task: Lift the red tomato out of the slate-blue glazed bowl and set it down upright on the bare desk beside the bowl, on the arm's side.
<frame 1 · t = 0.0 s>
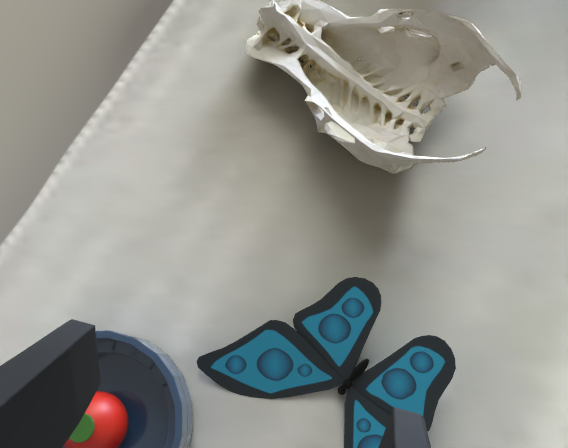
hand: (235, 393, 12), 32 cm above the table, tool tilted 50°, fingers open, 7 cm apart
bowl: (109, 422, 43), on the table
tomato: (107, 422, 42), resting on bowl
decorative butterfly: (342, 382, 43), on the table
anatomical model: (363, 95, 51), on the table
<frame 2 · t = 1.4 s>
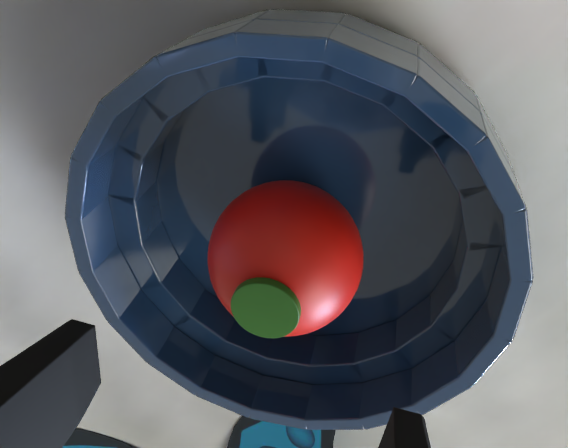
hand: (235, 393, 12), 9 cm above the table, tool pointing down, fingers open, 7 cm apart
bowl: (303, 212, 19), on the table
tomato: (300, 218, 19), resting on bowl
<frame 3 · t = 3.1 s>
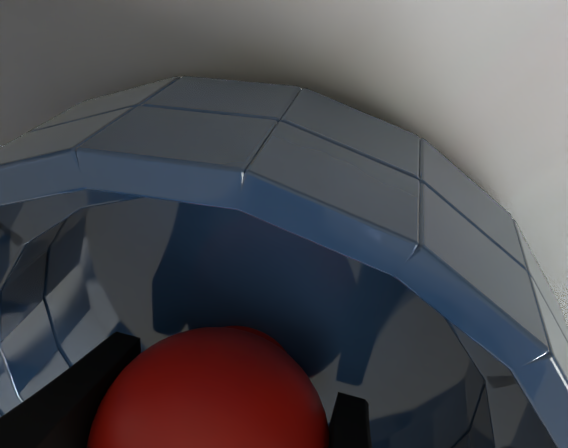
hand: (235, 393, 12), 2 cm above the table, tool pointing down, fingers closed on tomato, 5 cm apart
bowl: (253, 347, 13), on the table
tomato: (246, 361, 13), point 1 cm above the table, touching bowl, gripper
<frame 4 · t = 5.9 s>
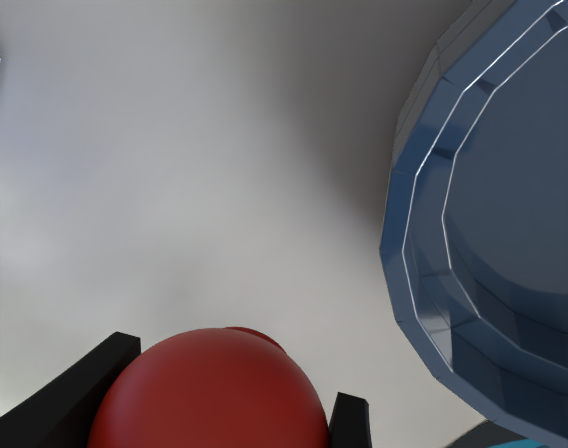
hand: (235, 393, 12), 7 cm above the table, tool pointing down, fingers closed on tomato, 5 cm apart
tomato: (246, 362, 13), point 6 cm above the table, touching gripper
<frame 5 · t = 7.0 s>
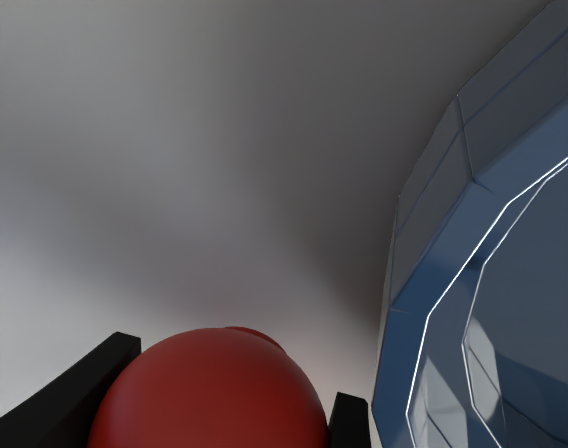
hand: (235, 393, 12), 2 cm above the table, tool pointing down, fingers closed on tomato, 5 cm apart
tomato: (246, 361, 13), point 1 cm above the table, touching gripper
when the fingers open (1 cm above the table, at t = 8.6 s): tomato stays where it is, on the table.
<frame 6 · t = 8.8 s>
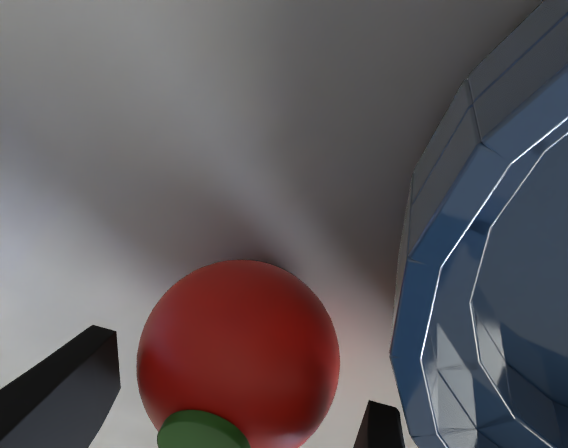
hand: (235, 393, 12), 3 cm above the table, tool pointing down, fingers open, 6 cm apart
tomato: (265, 297, 15), on the table
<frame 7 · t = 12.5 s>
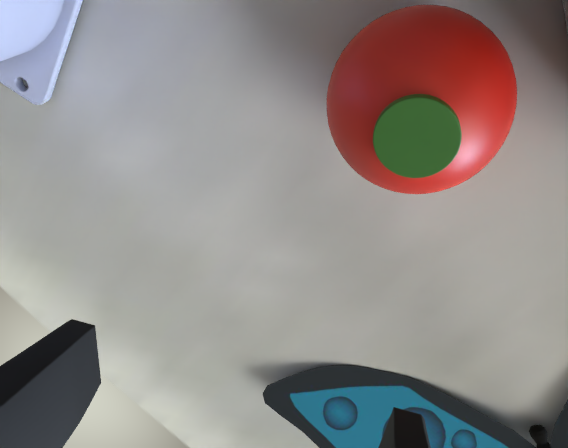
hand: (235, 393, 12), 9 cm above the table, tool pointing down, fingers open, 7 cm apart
tomato: (418, 78, 16), on the table
decorative butterfly: (548, 427, 23), on the table
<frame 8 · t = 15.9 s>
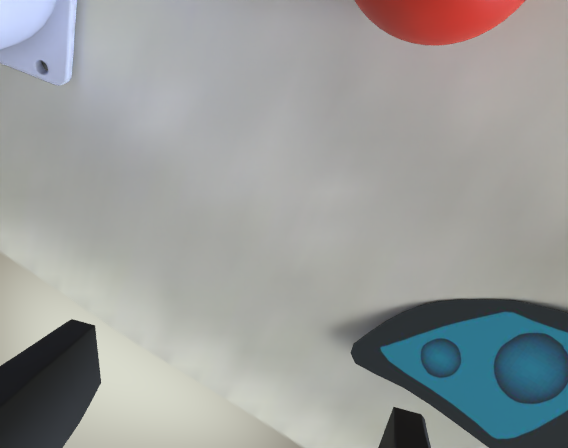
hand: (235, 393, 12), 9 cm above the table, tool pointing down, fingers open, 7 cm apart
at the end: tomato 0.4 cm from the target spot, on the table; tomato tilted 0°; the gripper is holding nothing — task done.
